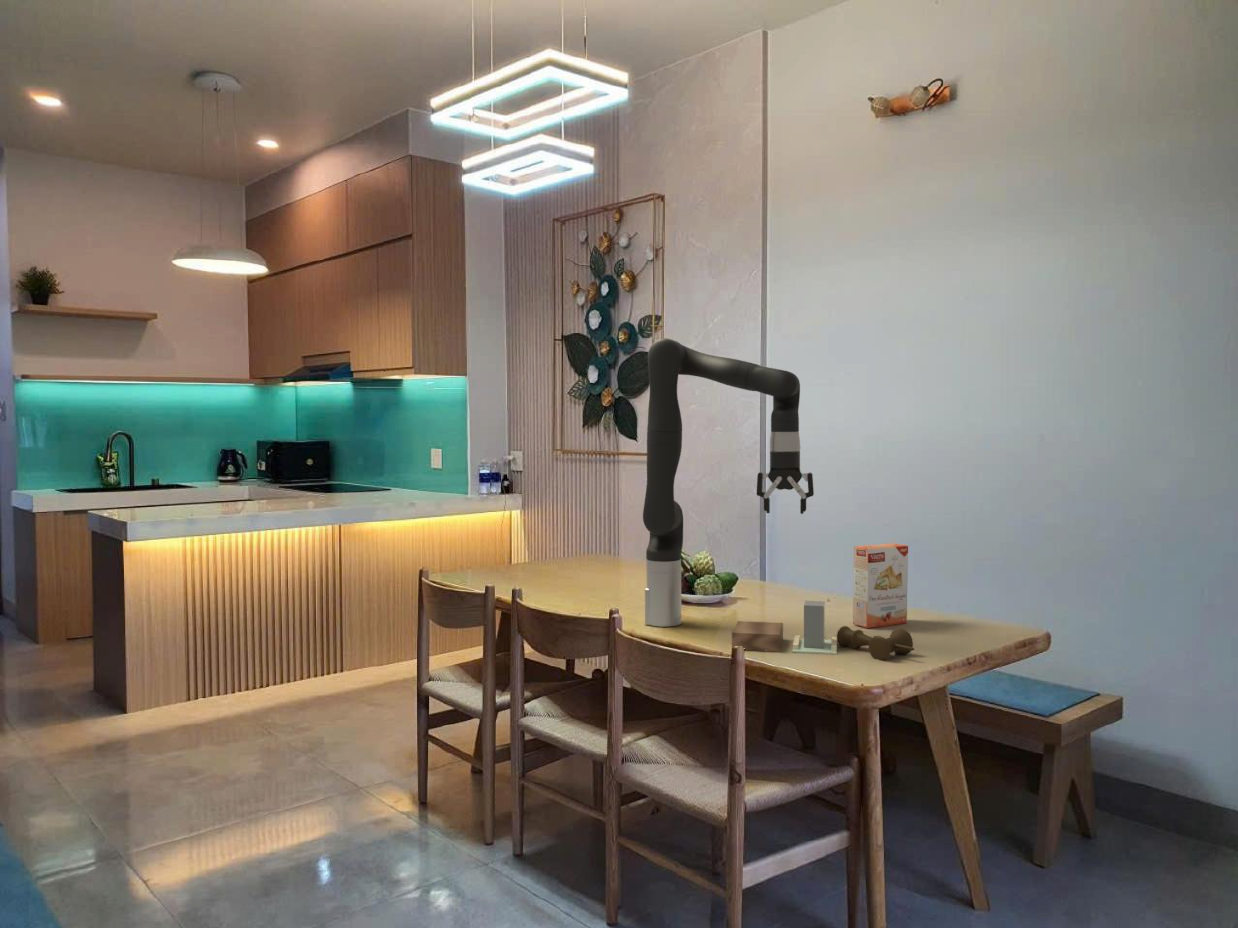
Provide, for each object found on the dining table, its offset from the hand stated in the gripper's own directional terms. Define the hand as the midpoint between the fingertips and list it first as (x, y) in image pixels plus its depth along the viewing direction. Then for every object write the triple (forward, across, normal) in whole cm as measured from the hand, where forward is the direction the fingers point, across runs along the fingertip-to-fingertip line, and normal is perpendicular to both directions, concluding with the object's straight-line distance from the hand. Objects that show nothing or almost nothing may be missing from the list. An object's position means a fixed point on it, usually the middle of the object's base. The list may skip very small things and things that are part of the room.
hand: (785, 513), depth 238 cm
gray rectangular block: (+30, +8, -16) cm, 35 cm away
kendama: (+31, +22, -20) cm, 43 cm away
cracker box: (+30, +24, +12) cm, 40 cm away
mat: (+30, +8, -16) cm, 35 cm away
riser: (+30, -6, -16) cm, 35 cm away
